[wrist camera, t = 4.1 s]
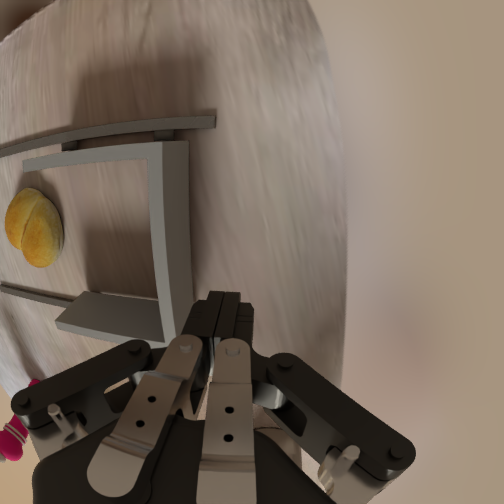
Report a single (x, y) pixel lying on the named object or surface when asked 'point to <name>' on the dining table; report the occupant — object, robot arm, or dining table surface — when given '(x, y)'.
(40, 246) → the bread roll
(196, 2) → the dining table surface
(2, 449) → the pepper mill
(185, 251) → the frame
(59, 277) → the dining table surface
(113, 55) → the dining table surface
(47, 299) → the track
